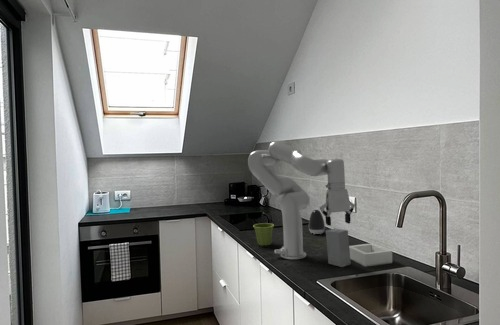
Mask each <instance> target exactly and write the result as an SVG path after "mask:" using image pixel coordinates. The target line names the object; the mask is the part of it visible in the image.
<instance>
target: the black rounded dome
mask: <svg viewBox="0 0 500 325" xmlns="http://www.w3.org/2000/svg"><path fill="white" fill-rule="evenodd" d="M325 229H326V224H325V221H324V215H323V213H322V212H321V210H320V209H319V210H318V209H314V210H312V212H310V216H309V220H308V230H309V232H310V233H311V234H312V233H313V234H312V235H315V234H320V235H322V234H323V233H324V232H325Z"/></svg>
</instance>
